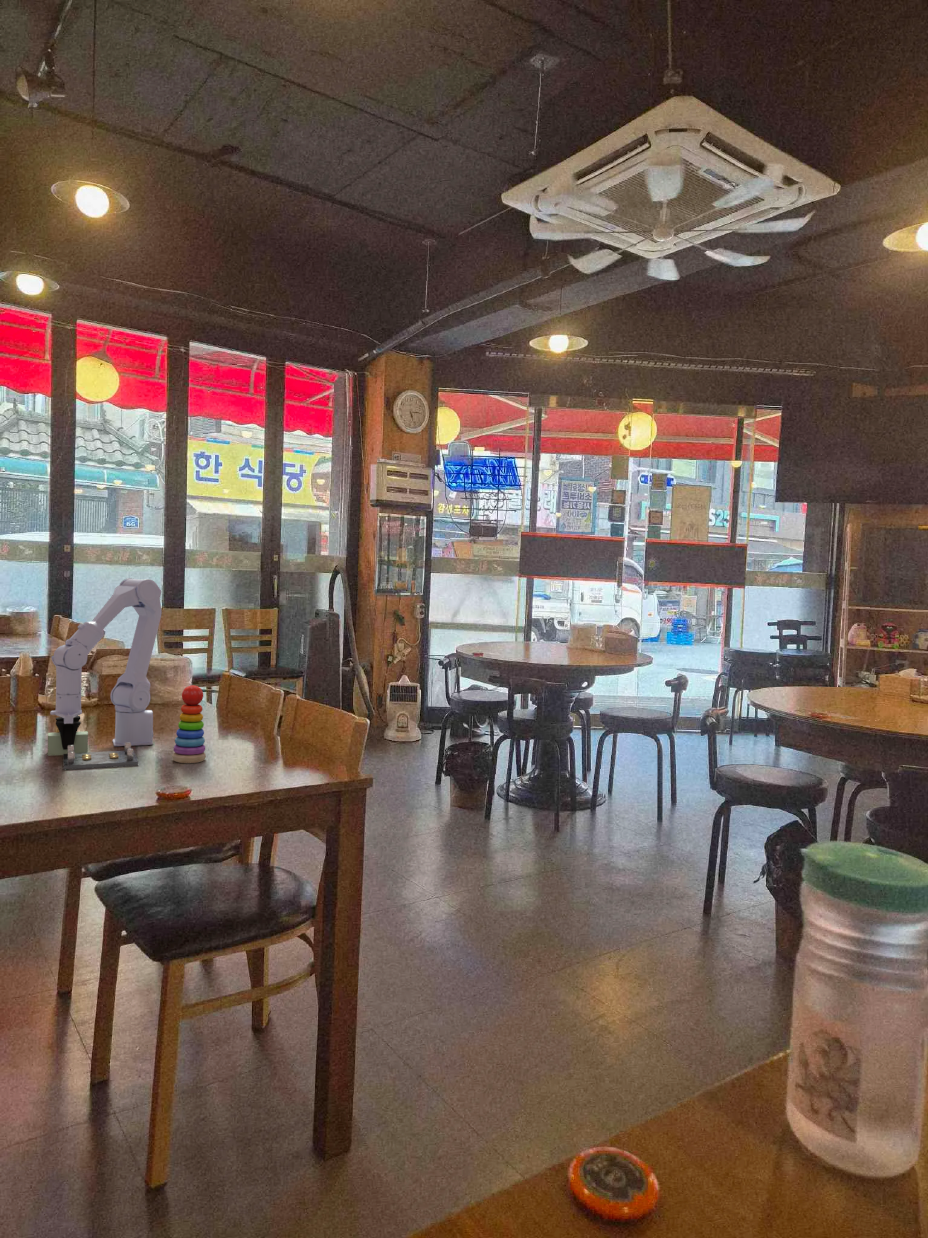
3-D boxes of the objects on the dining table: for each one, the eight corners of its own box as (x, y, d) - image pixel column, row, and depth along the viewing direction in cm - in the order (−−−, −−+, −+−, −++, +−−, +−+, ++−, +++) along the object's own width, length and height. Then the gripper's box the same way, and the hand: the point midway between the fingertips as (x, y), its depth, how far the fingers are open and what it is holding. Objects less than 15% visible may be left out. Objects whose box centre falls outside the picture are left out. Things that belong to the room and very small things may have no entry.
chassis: (133, 754, 208) (133, 740, 208) (138, 765, 197) (138, 751, 197) (63, 757, 201) (63, 743, 201) (63, 770, 190) (63, 755, 190)
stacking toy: (174, 765, 199) (176, 688, 198) (169, 758, 206) (171, 683, 205) (208, 763, 203) (210, 687, 202) (202, 756, 210) (204, 682, 209)
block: (87, 750, 210) (87, 731, 210) (87, 754, 207) (88, 734, 207) (47, 752, 206) (47, 732, 206) (47, 756, 203) (47, 736, 203)
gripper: (51, 689, 211) (50, 742, 211) (50, 698, 198) (49, 754, 198) (81, 689, 214) (80, 740, 214) (82, 697, 201) (81, 752, 201)
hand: (67, 747), depth 207 cm, fingers closed on block, 4 cm apart
